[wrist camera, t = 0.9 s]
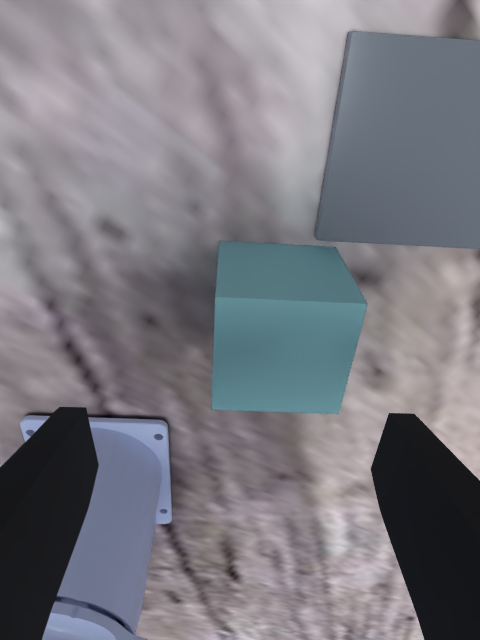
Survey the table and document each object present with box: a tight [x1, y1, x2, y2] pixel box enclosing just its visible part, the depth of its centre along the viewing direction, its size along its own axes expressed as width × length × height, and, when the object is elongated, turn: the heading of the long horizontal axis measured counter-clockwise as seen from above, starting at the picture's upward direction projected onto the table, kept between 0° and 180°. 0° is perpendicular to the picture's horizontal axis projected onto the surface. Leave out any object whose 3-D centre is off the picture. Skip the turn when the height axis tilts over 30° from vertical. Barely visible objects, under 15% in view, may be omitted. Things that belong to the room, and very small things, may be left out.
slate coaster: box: [315, 31, 480, 249], centre depth 15 cm, size 7×7×1 cm
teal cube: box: [211, 241, 367, 414], centre depth 17 cm, size 5×5×5 cm
